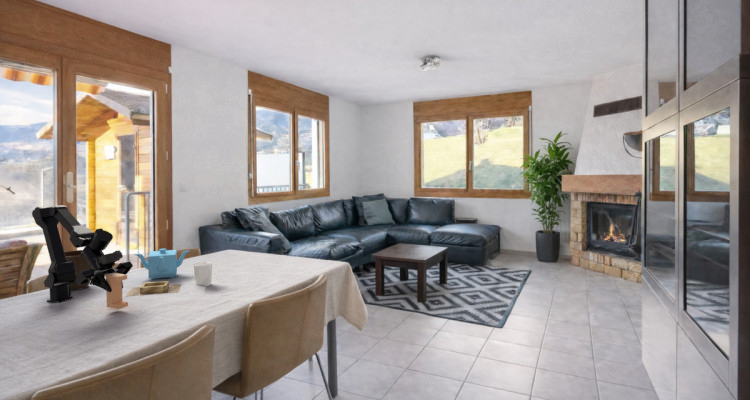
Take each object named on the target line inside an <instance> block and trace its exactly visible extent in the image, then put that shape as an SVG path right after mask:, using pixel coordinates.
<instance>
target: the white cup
mask: <svg viewBox="0 0 750 400" xmlns="http://www.w3.org/2000/svg"><path fill="white" fill-rule="evenodd" d="M193 271H194V280H195V281H194V282H195V285H198V286H203V287H204V288H205V287H209V286H211V285H212V278H213V277H212V274H213V263H212V262H211V261H210V262H209V261H206V262H205V261H204V262H202V261H201V262H197V263H194V264H193Z"/></svg>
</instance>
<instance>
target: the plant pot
mask: <svg viewBox="0 0 750 400" xmlns="http://www.w3.org/2000/svg"><path fill="white" fill-rule="evenodd" d="M82 250H83V249H79V250H77V249H76V250H70V251H64V253H65V257H66V259H67V260H68V261H69V262H73V263H74V268H75V270H76V277H75V282H74V283H71V284H70V287H71V291H72V290H73V291H74V290H76V291H77V289H78V290H83V289H86V288H88V287H89V285H90V284H89V283H90V282H91V280H90V279H88V282H87V284H84V285H80V286H79V285H78V284H77V282H76V278H77V277H78V276H79V274H80V273H81V271H83V270H88V269H92V268H89V267H88V266H89V263H88V261H87V259H86V258H85V257H80V254H81V252H82Z"/></svg>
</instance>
